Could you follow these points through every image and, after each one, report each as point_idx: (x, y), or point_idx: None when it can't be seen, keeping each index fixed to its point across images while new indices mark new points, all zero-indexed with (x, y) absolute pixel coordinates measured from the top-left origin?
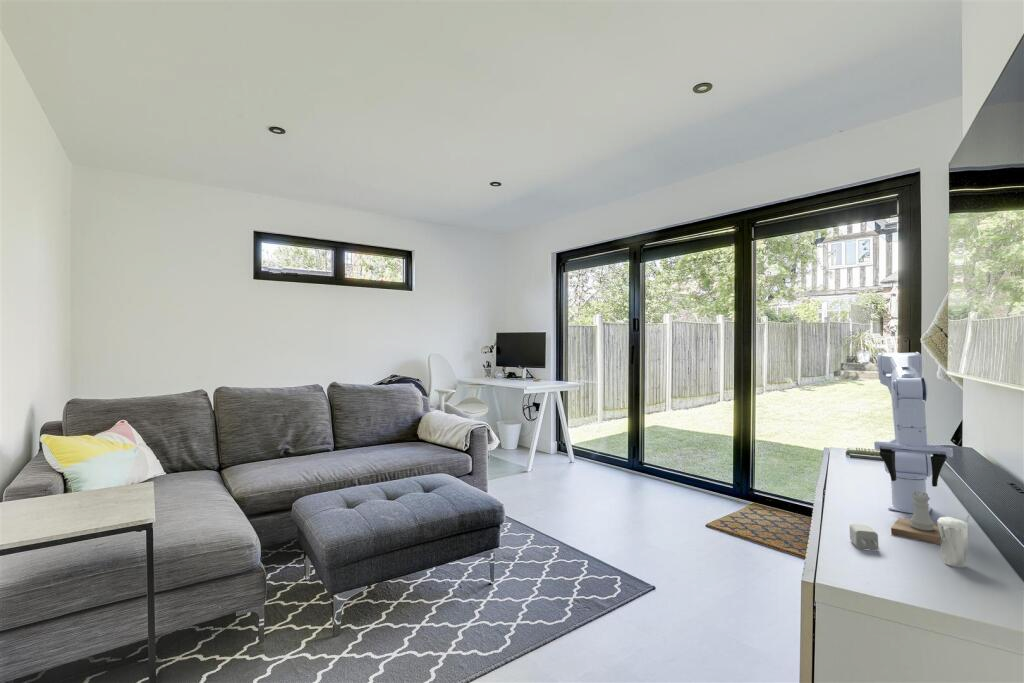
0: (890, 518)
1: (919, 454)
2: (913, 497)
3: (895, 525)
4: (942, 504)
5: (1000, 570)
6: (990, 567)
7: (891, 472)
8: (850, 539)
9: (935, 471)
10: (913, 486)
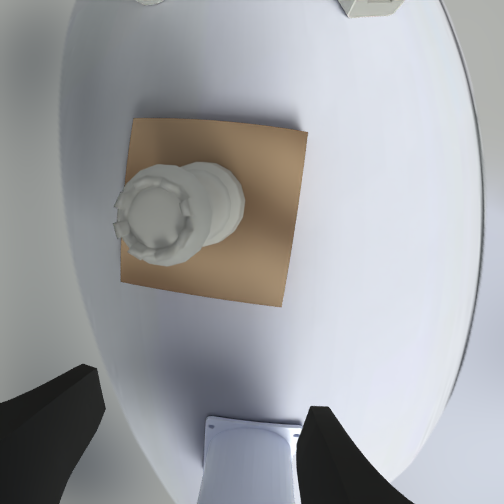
0: (304, 346)
1: None
2: (200, 184)
3: (294, 176)
4: (190, 494)
5: (79, 29)
6: (90, 30)
7: (342, 445)
8: (393, 11)
9: (12, 412)
10: (228, 491)
